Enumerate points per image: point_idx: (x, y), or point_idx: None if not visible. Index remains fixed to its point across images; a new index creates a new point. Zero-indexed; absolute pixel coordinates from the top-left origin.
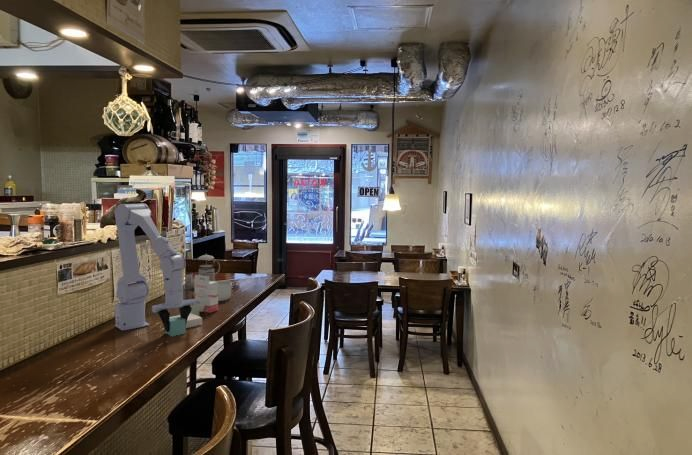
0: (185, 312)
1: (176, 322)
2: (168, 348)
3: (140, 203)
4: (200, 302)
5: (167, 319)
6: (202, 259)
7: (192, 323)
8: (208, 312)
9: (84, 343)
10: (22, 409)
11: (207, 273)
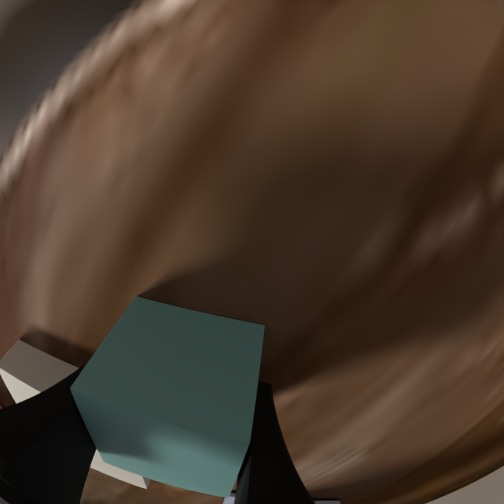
0: (27, 446)
1: (178, 410)
2: (479, 71)
3: None
4: None
5: (273, 485)
6: None
7: (51, 374)
8: (1, 407)
9: (489, 455)
10: None
11: None
